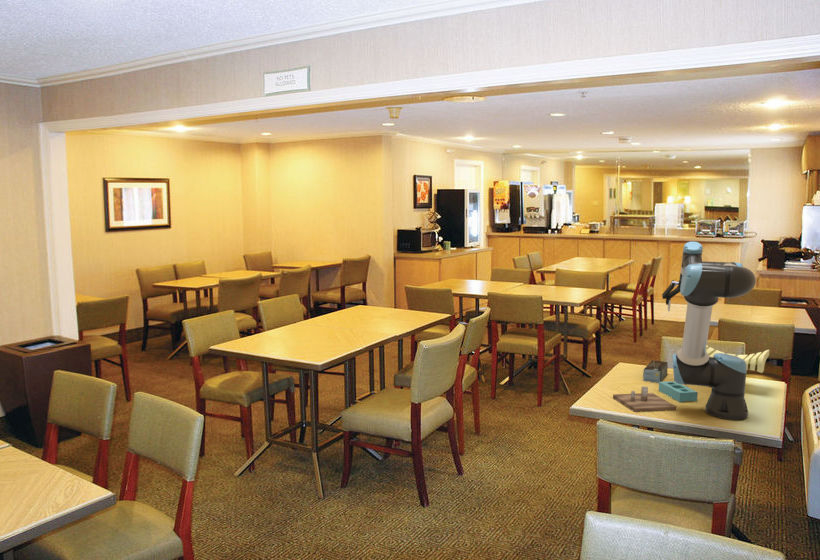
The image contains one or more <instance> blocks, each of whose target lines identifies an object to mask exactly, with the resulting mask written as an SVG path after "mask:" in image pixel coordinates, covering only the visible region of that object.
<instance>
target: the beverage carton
mask: <svg viewBox="0 0 820 560" xmlns="http://www.w3.org/2000/svg"><path fill="white" fill-rule="evenodd" d="M668 363H669V362H668V361H661V360H654V359H653V360H652V359H651V360H650V361H649V363H648V364H647V365H646V366H645V367H644V368H643V371H642V372H643V373H642V378H643V379H642V381H643V382H647V381H650V383H654V382H656V383H657V384H659V382H663V380H664V379H665V378H666V376H667V375H668V366H669V364H668ZM663 378H664V379H663Z"/></svg>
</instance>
